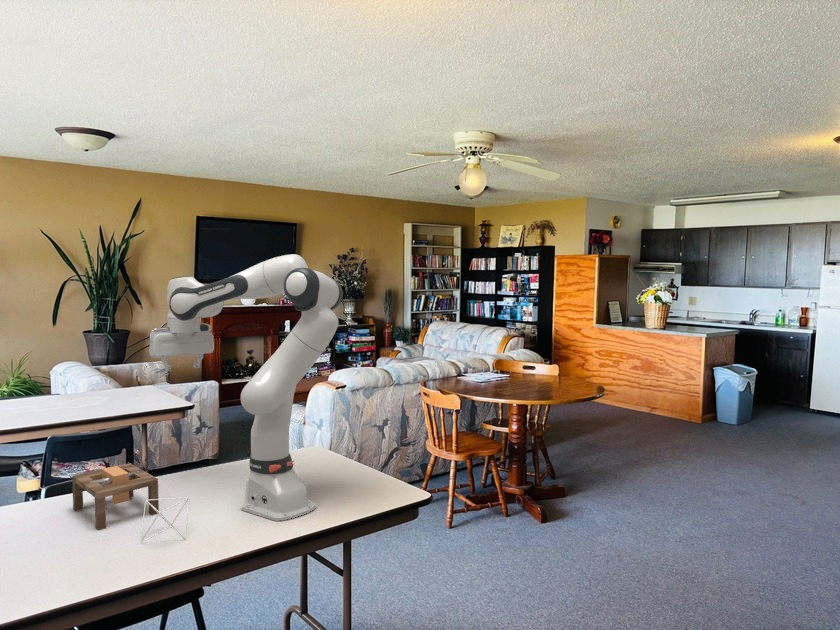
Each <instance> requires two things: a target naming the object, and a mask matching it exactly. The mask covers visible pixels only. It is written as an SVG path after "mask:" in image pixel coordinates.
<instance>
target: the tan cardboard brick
mask: <svg viewBox="0 0 840 630" xmlns="http://www.w3.org/2000/svg"><path fill="white" fill-rule="evenodd" d="M118 466H119V465H114V466H109V467H105V468H101V469H102V479H104V478H109V479H110V480H112V483H108V484H103V485H102V486H107V485H111V484H116V483H120V482H124V481H128V480H129V473H128V472H126V471H124V470H123V469H121V468H119V467H118ZM126 502H130V498H129V491H128V492H124V493H120V494H116V495H112V504H113V505H118V504H122V503H126Z"/></svg>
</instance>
